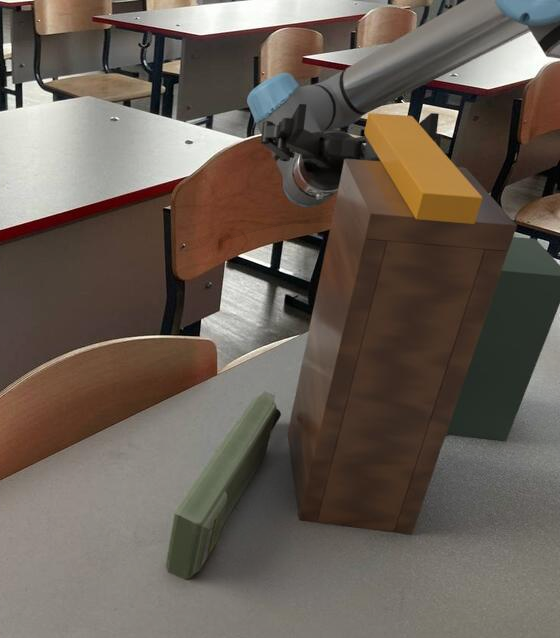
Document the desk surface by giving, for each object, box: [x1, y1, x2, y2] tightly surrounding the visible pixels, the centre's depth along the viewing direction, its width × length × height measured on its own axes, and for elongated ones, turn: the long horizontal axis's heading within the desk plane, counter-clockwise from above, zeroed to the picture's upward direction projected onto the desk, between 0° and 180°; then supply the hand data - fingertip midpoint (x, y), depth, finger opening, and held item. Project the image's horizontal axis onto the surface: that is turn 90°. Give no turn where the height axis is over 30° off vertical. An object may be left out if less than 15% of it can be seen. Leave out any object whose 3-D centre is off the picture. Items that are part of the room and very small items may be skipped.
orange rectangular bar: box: [363, 112, 482, 224], centre depth 62 cm, size 4×22×2 cm, turn 171°
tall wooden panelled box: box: [287, 159, 518, 535], centre depth 67 cm, size 10×13×30 cm
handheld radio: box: [165, 391, 282, 580], centre depth 71 cm, size 7×3×25 cm
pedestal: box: [446, 236, 560, 442], centre depth 80 cm, size 10×9×20 cm
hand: (367, 121), depth 81 cm, fingers open, 13 cm apart
